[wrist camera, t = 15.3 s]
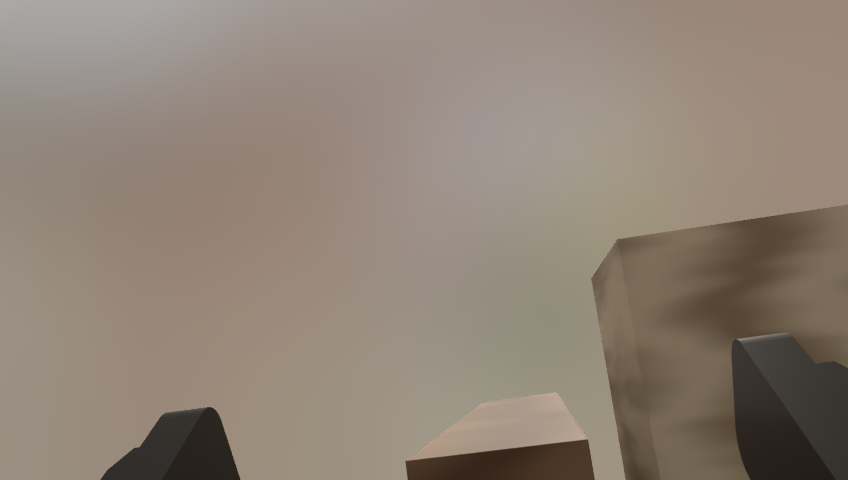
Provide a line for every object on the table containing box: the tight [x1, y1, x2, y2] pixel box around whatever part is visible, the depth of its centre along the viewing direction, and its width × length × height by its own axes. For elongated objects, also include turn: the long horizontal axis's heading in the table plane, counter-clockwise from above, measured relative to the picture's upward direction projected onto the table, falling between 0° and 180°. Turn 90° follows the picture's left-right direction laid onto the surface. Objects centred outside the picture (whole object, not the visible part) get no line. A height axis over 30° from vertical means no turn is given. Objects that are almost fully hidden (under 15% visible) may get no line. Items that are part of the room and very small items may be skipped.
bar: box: [406, 393, 595, 480], centre depth 29 cm, size 4×26×4 cm, turn 172°
